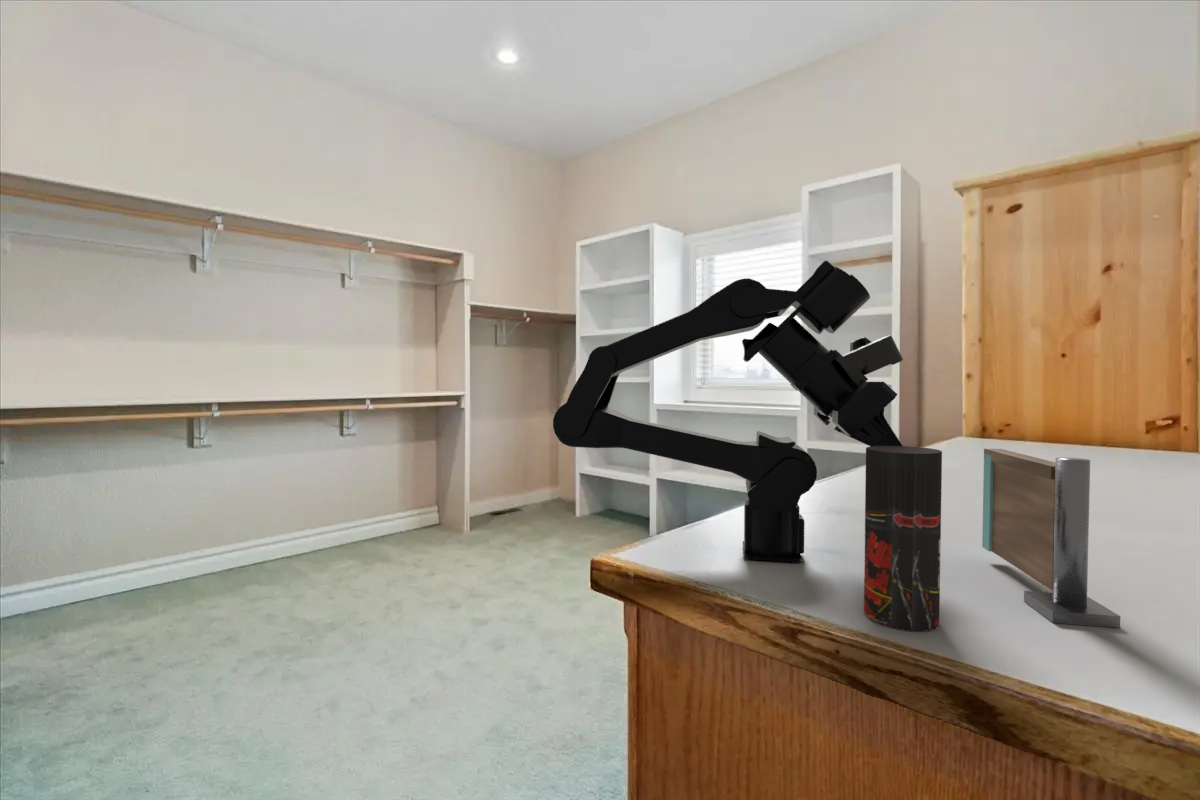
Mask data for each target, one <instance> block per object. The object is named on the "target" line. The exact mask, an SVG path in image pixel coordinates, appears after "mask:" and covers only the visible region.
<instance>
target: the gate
mask: <svg viewBox="0 0 1200 800" xmlns="http://www.w3.org/2000/svg"><path fill="white" fill-rule="evenodd" d="M982 479H983V480H982V481H983V482H982V483H983V485H982V486H983V489H982V493H983V494H982V495H983V496H982V535H981V537H982V538H981V539H982V545H981V548H983V549H985V550H986V551H988V552H991V553H994V554H995V555H997V556H998V557H999V558H1001V559H1003V560H1005V561H1006V562H1007V563H1009V564H1011V565H1012V566H1014V567H1015V568H1017V569H1018V570H1020V571H1021V572H1023V573H1024V574H1026V575H1028V576H1029V577H1031V578H1032V579H1033V580H1035V581H1037V582H1039V583H1040V584H1041V585H1043V586H1044V587H1046V588H1047V589H1049V590H1050V591H1052V592H1053V555H1054V508H1055V461H1051V460H1048V459H1043V458H1039V457H1035V456H1032V455H1031V456H1030V455H1028V454H1022V453H1018V452H1016V451H1012V450H1007V449H1003V448H983V478H982Z"/></svg>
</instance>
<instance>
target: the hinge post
mask: <svg viewBox="0 0 1200 800" xmlns="http://www.w3.org/2000/svg"><path fill="white" fill-rule="evenodd" d="M1054 462H1055V508H1054V555H1053V591H1052V592H1048V591H1047V592H1046V591H1033V590H1023V602H1024V603H1025V604H1026V605H1028V606H1029V607H1031V608H1032V609H1033V610H1034V611H1037V612H1038V613H1039V614H1041V616H1042V617H1044V618H1046V619H1047V620H1048V621H1050V622H1051V623H1053V624H1066V625H1077V626H1079V625H1080V626H1089V627H1091V626H1093V627H1104V628H1105V627H1106V628H1117V629H1120V628H1121V616H1120V615H1119V614H1117V613H1115V612H1114V611H1113V610H1111V609H1109V608H1107V607H1106V606H1104V605H1103V604H1100V603H1099V602H1097V601H1096V600H1094V599H1092V598H1091V597H1089V596H1088V581H1089V580H1088V576H1089V575H1088V574H1089V573H1088V572H1089V571H1088V570H1089V567H1088V566H1089V535H1090V534H1089V531H1090V530H1089V528H1090V491H1091V490H1090V488H1091V487H1090V486H1091V484H1090V483H1091V459H1087V458H1081V457H1080V458H1079V457H1066V456H1065V457H1062V456H1061V457H1055V460H1054Z"/></svg>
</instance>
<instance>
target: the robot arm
mask: <svg viewBox="0 0 1200 800" xmlns="http://www.w3.org/2000/svg"><path fill="white" fill-rule="evenodd" d="M870 299H871V296H870V293H869V291H868V290H867V289H866V286H864V285H863V284H862V283H861V281H860V280H859V279H858V278H857V277H856V276H855V275H854V274H852V273H851V274H849V273H847V272H846V271H845V270H843V269H841V268H839V267H837V266H835V265H832V263H831V262H830V261H828V260H824V261H823V262H822V263H821V264H820V265H819V266H817V268H816V269H815V271H814V272H813V274H812V275H811V276H810V277H809V278H808V279H807V280H806V281H805V282H804V283H803V284H802V285H801V286H800V287H799V288H797V289H796V290H795V291H794V290H787V289H775V288H766V286H765V285H763V284H762V282H760V281H757V280H755V279H753V278H741V279H737V280H735V281H733V282H731V283H730V284H727V286H725V287H723V288H721V289H720V290H718V291H717V292H715V293H714V294H712V295H711V296H709V297H708V298H707V299H705V300H704V301H702V302H701V303H700V304H699V305H697V306H695V307H694V308H692V309H691V310H689V311H687V312H685V313H682V314H680V315H677V316H674V317H672V318H670V319H668V320H666V321H663V322H661V323H658V324H655V325H653V326H651V327H649V328H646V329H643V330H641V331H639V332H636V333H634V334H631V335H629V336H627V337H625V338H622V339H619V340H617V341H615V342H612V343H609V344H607V345H603V346H602V345H601V346H597V347H596V348H594V349H593V350H592V351H591V352H590V353H589V356H588V358H587V362H586V363H585V366H584V368H583V370H582V372H581V373H580V375H579V377H578V379H577V381H576V382H575V384H574V386H573V387H572V389H571V391H570V394H569V395H568V398H567V400H566V403H564V404H563V405H560V407H558V409H557V410H556V412H555V413H554V416H553V419H552V428H553V431H554V434H555V436H556V437H557V439H558V441H559V442H560V443H561V444H563V445H565V446H568V447H571V448H589V449H627V450H631V451H636V452H639V453H645V454H649V455H652V456H657V457H662V458H666V459H671V460H675V461H680V462H684V463H688V464H693V465H697V466H701V467H705V468H710V469H715V470H719V471H724V472H728V473H732V474H734V475H737V476H739V477H741V478H743V479H745V486H746V491H747V492H746V493H747V494H746V495H747V497H748V499H744V500H743V505H744V506H743V513H744V514H743V515H744V517H743V519H744V520H743V522H744V523H743V541H742V551H743V552H742V553H743V554H742V555H743V558H744V559H745V560H757V561H772V562H773V561H774V562H787V563H788V562H789V563H801V562H802V555H801V554H803V555H804V553H805V519H804V517H803V515H802V514H801V513H800V506H799V501H800V498H801V496H802V495H804V494H806V493H807V492H809V491H810V490H811V489H812V487H814V485H815V482H817V481H816V479H817V478H818V477H817V476H818V475H817V474H818V468H817V466H816V462H815V460H814V459H813V457H812V456H811V455H810V454H809V453H808V452H807V451H805V449H803V448H802V447H801V446H800V445H798V444H796V442H795V441H794V440H793V439H792V438H791V437H790V436H784V437H779V436H778V437H776V436H774V435H770V434H768V433H766V432H762V431H759V430H758V431H756V440H754V441H753V440H751V441H748V440H747V441H741V440H740V441H739V440H733V439H728V438H724V437H720V436H715V435H709V434H707V433H700V432H696V431H692V430H687V429H682V428H679V427H674V426H668V425H664V424H659V423H653V422H650V421H645V420H639V419H635V418H632V417H630V416H628V415H626V414H624V413H622V412H620V411H618V410H615V409H613V408H611V407H609V405H610V403H611V400H612V396H613V393H614V391H615V387H616V384H617V381H618V378H619V376H620V374H622V373H623V372H625V371H628V370H631V369H633V368H635V367H638V366H640V365H643V364H646V363H648V362H650V361H653V360H656V359H658V358H660V357H663V356H665V355H668V354H671V353H673V352H675V351H678V350H681V349H683V348H685V347H688V346H691V345H693V344H695V343H698V342H701V341H704V340H705V341H706V340H711V339H716V338H720V337H728V336H733V335H736V334H742V333H747V332H751V331H753V330H755V329H756V328H759V327H760V326H761V325H762V324H763V323H764V322H765V320H769V319H774V318H777V317H781V316H782V315H784V314H785V312H786V311H788V310H789V308H791V307H793V308H794V310H793V311H792V312H791V313H790V315H788V316H787V317H786V319H785V318H784V320H783V321H782V322H781V323H780V324H779V325H778V326H777V325H775V324H774V323H772V322H768V323H767V324H766V325H765V326H764V327H763V328H762V329H761V330H760V331H759V332H758V333H757V334H756V335H755V336H754V337H753V338H743V339H742V340H741V344H742V347H743V357H742V358H743V359H742V360H743V362H745V363H746V362H747V363H748V362H750V361H751V359H753V358H754V357H755V356H756V355H757V354H760V356H761V357H763V359H765V360H766V361H767V362H768V363H769V364H770V365H771V367H773V369H775V370H776V371H777V372H778V373H779V374H780V375H781V376H782V377H783V378H784V379H785V380H786V381H787V382H788V383H789V385H790V387H792V389H794V390H795V391H798V392H799V393H800V394H801V395H802V396H803V397H804V398H805V399H806V400H807V401H809V403H810V404H812V406H813V415H814V417H816V419H818V420H819V421H820V422H821V423H822V424H823V425H825V426H828V425H829V424H830V423H831V421H830V419H831V418H832V419H831V420H832V423H833V424H834V425H835V427H834V431H836V432H838V433H840V434H843V435H844V436H847V437H849V438H851V439H854V440H856V441H858V442H860V443H862V444H864V445H867V447H871V446H903V444H902V443H901V441H900V440H899V438H898V436H897V435H896V433H895V432H894V430H893V429H892V427H891V426H890V423H889V422H888V420H887V419H886V418H885V417H886V416H885V408H886V407H887V406H888V405H889V404H890V403H891V402H892V401H893V400H895V399H896V397H898V393H897V392H896V391H895V390H894V389H892V388H891V387H890V386H889V384H887V383H886V382H885V381H868V380H869V378H868V377H867V376H866V375H868V374H871V373H874V372H875V371H878V370H880V369H883V368H884V367H886V366H891V365H892V366H893V365H897V364H899V363H900V362H902V361H903V360H904V358H903V356H902V354H901V353H900V349H899V348H898V347H897V344H896V342H895V340H894V338H893V336H892V335H891V334H890V335H889V334H888V335H886V336H883V337H880V338H878V339H875V340H873V341H871V340H870V339H869V338H867V337H865V336H862V337H861V338H858V339H855V340H853V341H851V342H850V345H849V347H850V348H849V351H848V352H846V353H845V354H843V355H842V354H841V353H840V352H839V351H838V350H836V349H834V350H833V349H827V348H826V347H825V346H824V345H823V344H822V343H821V342H820V341H819V340H818V339H817V338H816V337H815V336H813V335H812V334H811V332H810V331H808V329H806V328H805V327H804V326H803V325H802V324H801V323H800V322H799V321H797V320H796V319H795V317H796V316H797V317H798V318H799V320H801V322H802V323H804V324H805V325H806V326H807V328H809V329H810V330H811V331H813V332H814V333H816V334H818V335H821V334H822V333H823V332H824V331H826V332H828V333H829V334H835V332H837V330H838V329H840V328H841V327H842V326H843V325H844V324H845V323H846V322H847V321H848V320H849V319H850V318H851V317H852V316H853V315H854V314H855V313H856V312H858V310H859V309H861V307H863V306H864V305H865V304H866V303H867V302H868V301H869V300H870Z"/></svg>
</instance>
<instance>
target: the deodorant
mask: <svg viewBox="0 0 1200 800" xmlns="http://www.w3.org/2000/svg"><path fill="white" fill-rule="evenodd" d="M942 464H943V451H942V450H940V449H935V448H931V447H930V448H929V447H928V448H927V447H919V446H904V445H902V446H867V447H865V487H864V488H865V491H864V492H865V495H864V497H865V499H864V500H865V501H864V502H865V503H864V504H865V505H864V573H863V575H864V580H863V581H864V585H863V587H864V588H863V591H864V592H863V593H864V594H863V612H864V613H863V614H864V615H865V616H866V618H868V619H869V620H871V621H872V622H874V623H877V624H878V625H881V626H884V627H887V628H891V629H894V630H899V631H907V632H918V633H920V632H921V633H922V632H930V631H933V630H936V629H937V628H939V626H940V612H941V611H940V605H941V603H940V600H941V595H940V594H941V548H942V547H941V539H942V538H941V537H942V534H941V532H942V482H943V481H942V480H943V479H942V477H943V476H942V475H943V474H942V472H943V471H942V468H943V465H942Z"/></svg>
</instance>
